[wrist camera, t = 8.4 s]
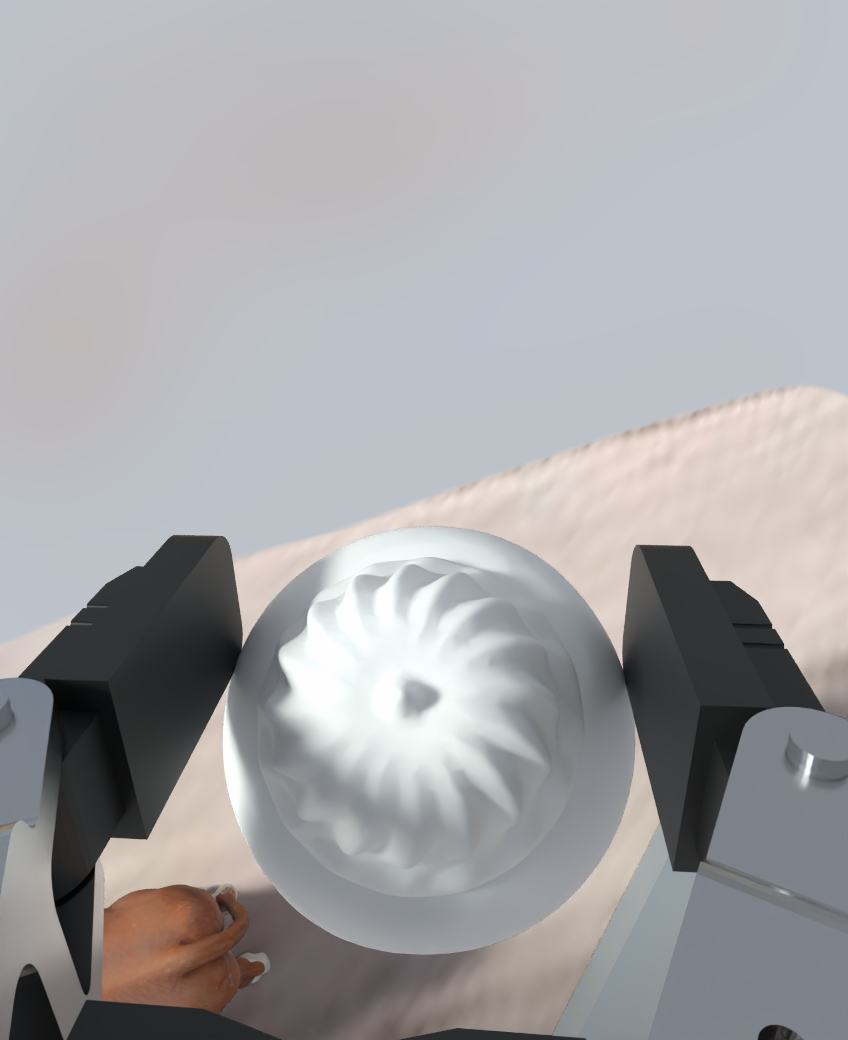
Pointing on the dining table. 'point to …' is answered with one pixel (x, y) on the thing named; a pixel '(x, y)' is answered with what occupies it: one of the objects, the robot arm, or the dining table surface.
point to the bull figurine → (177, 948)
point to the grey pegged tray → (632, 954)
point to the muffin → (428, 741)
